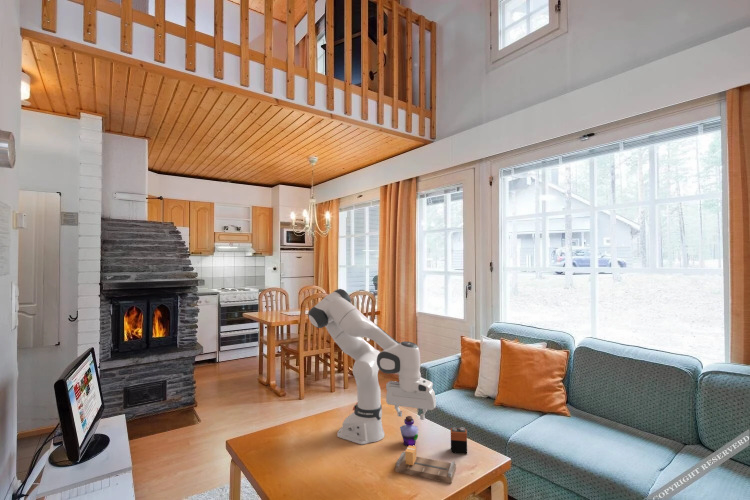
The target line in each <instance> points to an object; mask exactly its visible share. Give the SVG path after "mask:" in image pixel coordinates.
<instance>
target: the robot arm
mask: <svg viewBox="0 0 750 500" xmlns="http://www.w3.org/2000/svg"><path fill="white" fill-rule="evenodd" d="M307 315H308V316H307V317H308V319H309V322H310V323H311V324H312V325H313V326H314V327H315V328H317V329H322V328H324V327H325V329H326V331H327V332H328V334H329V336H330V337H331V338H332V339H333V341H334V342H335V343H336V345H337V346H338V347H339V348H340V350H341V351H342V352H343V353H344V354H345V355H348V356H349V357H351V358H352V359H353V360H354V363H353V366H352V374H353V377H354V379H355V384H356V391H357V399H356V400H357V401H356V403H355V404H354V406H353V407H352V411H353V412H352V413H351V414H349V415H347V417H346V418H345V419H344V420H343V423H342V426H341V427H340V428H339V430H338V431H337V432H336V433H337V434H336V435H337V438H340V439H343V440H346V441H349V442H353V443H356V444H359V445H362V446H363V445H366V444H369V443H375V442H378V441H381V440H382V439H384V438H385V431H384V427H383V423H382V422H383V421H382V416H383V410H382V406H383V405H382V403H381V401H382V400H381V399H382V398H381V397H382V396H381V395H382V394H381V393H382V391H381V386H380V384H379V377H378V373H379V371H380V372H382V373H383V374H386V375H388V374H398V381H394V380H389V381H387V382H386V385H385V390H386V396H385V401H386V403H387V405H388V406H389V405H390V406H394V409H395V411H396V413H397V417H401V418H402V416H403V411H402V410H401V409H400V407H405V408H412V409H419V410H421V409H422V412H423V413H420V415H419V417H420V418H419V419H420V420H421V421H424V420H425V419H426V417H425V414H426V413H427V411H434V409H436V406H437V402H436V401H437V399H436V393H435V391H434V389H433V386H434V383H433V382H432V381H430V380H428V379H426V378H423V377H422V374H421V353H420V348H419V346H418V345H417V344H416V343H415V342H412V341H401V342H399V341H397V340H396V339H395V338H393V337H392V336H391V335H389V333H387V332H386V331H385V330H383V329H382V328H381V327H380V326H378V324H376V323H375V322H373V321H372V320H370V319H369V318H368V317H366V316H365V315H364V313H362V312H361V311H360V310H359V309H358V308H357V307H356V306H354V304H352V298H351V296H350V294H349V293H348V292H347V291H346V290H344V289H342V288H338V289H335V290H333V292H331V293H330V294H328V295H326V296H324V297H323V298H322V299H321V300H320V301H319V302H318V303H317V304H316V305H314V306H312V307H311V309H309V311H308V313H307ZM364 338H367V339H370V340H372V341H373V342H374V343H376V344H377V345H378V346H379V347H381V348H382V351H380V350H378V349H376V348H375V347H373V346H372V344H370V343H369V342H367V341H366V340H365V339H364Z"/></svg>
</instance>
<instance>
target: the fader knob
mask: <svg viewBox="0 0 750 500" xmlns="http://www.w3.org/2000/svg"><path fill="white" fill-rule="evenodd" d="M404 452H405V453H406V464H408V465H414V463H415V461H416V457H417V446H416V445H414V446H410V445H409V446H408V447H407V448H406V450H405V451H404Z"/></svg>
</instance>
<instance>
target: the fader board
mask: <svg viewBox="0 0 750 500" xmlns="http://www.w3.org/2000/svg"><path fill="white" fill-rule="evenodd" d="M395 464H396V465H395V468H394V469H395V470H394V471H395V472H396V473H400V474H405V475H410V476H414V477H418V478H419V477H420V478H424V479H428V480H433V481H438V482H442V483H448V484H452V483H453V479H454V477H455V475H456V471H457V464H456V462H455V461H454V460H452V461H451V462H447V461H444V460H443V461H441V460H437V459H431V458H427V457H426V458H425V457H420V456H416V461H415V463H414V465H408V464H406V453H405V451H402V453H401V455H400V456H399V458H398V459H397V460H396V462H395Z"/></svg>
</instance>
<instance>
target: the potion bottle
mask: <svg viewBox="0 0 750 500" xmlns="http://www.w3.org/2000/svg"><path fill="white" fill-rule="evenodd" d="M403 421H404V422H403V423H404V424H403V425H401V426H400V427H399V430H400V434H401V437H402V441H403V446H404V447H407V446H409V445H410V446H413V445H414V446H416V445H415V444H416V443H417V440H418V437H419V435H418V434H419V427H418V426H417V425H415V420H414V419H413V416H412V415H407V416H405V419H404V420H403Z"/></svg>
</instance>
